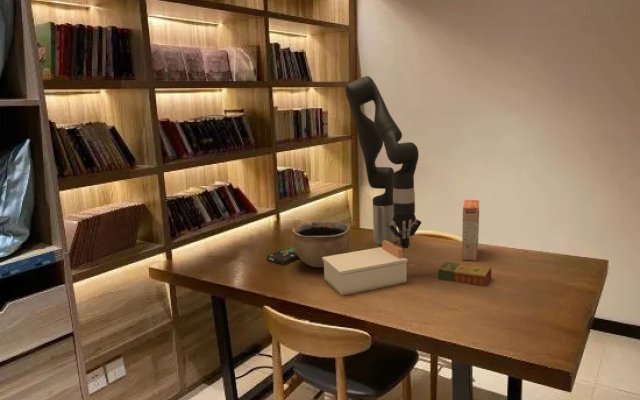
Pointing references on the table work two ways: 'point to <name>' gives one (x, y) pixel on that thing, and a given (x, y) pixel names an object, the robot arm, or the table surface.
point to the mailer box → (365, 278)
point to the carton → (465, 273)
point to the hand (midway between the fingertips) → (404, 247)
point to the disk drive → (283, 256)
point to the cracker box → (470, 230)
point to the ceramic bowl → (320, 241)
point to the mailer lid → (366, 258)
